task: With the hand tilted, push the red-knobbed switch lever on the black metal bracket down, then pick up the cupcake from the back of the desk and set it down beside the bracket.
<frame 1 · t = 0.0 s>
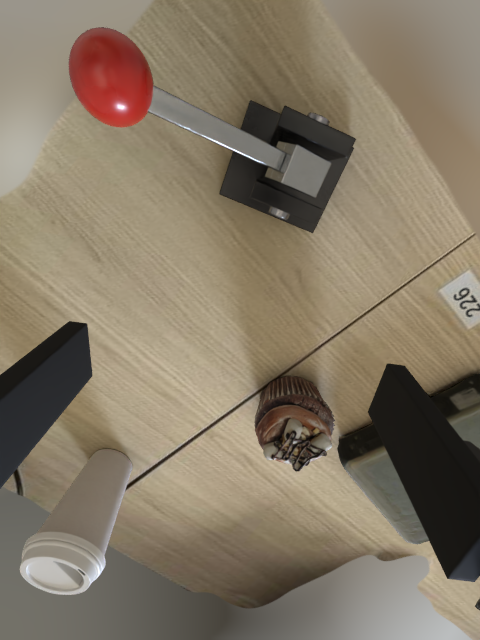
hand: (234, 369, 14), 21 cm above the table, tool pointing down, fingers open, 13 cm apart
network switch: (432, 450, 44), on the table
switch lever: (216, 131, 17), point 13 cm above the table, hinge at 25.0°
coffee cup: (112, 462, 48), on the table
cupcake: (289, 398, 41), on the table
switch bracket: (283, 171, 29), on the table
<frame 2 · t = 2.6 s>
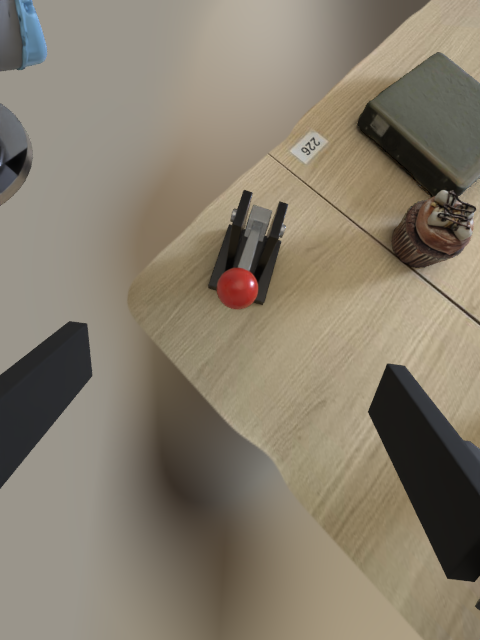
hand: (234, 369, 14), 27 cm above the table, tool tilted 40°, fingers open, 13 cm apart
network switch: (430, 139, 55), on the table
switch lever: (248, 253, 30), point 13 cm above the table, hinge at 25.0°
cupcake: (413, 245, 49), on the table
switch bracket: (245, 265, 44), on the table
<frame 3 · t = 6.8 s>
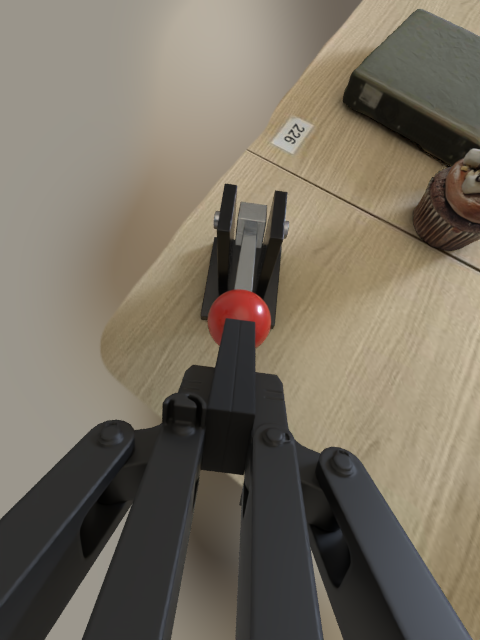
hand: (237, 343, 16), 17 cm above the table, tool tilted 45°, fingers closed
network switch: (429, 104, 48), on the table
switch lever: (246, 266, 21), point 13 cm above the table, hinge at 24.5°, touching gripper
cupcake: (440, 225, 40), on the table
switch bracket: (242, 283, 35), on the table
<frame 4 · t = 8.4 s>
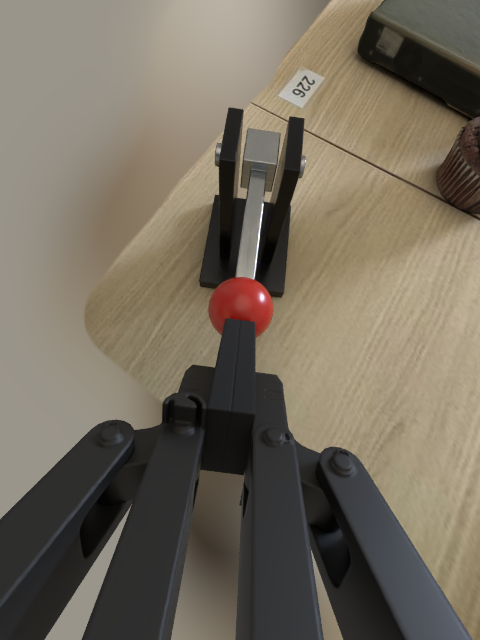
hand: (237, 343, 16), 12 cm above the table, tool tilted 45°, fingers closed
network switch: (452, 58, 43), on the table
switch lever: (250, 230, 19), point 11 cm above the table, hinge at 1.5°, touching gripper
cupcake: (467, 186, 36), on the table
switch bracket: (246, 247, 31), on the table
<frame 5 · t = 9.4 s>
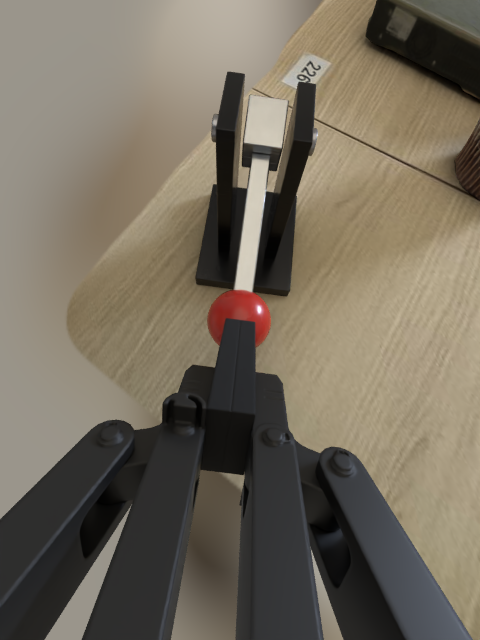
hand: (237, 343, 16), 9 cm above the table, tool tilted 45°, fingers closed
network switch: (466, 43, 40), on the table
switch lever: (251, 230, 18), point 9 cm above the table, hinge at -16.7°, touching gripper
switch bracket: (248, 241, 28), on the table
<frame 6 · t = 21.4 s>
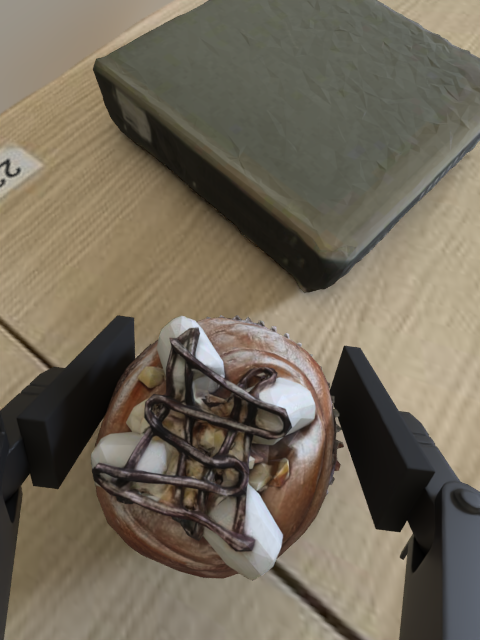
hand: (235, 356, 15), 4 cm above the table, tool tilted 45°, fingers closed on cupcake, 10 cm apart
network switch: (298, 139, 25), on the table
cupcake: (226, 424, 17), on the table, touching gripper
when the fingers open (4 cm above the table, at t = 31.1 s): cupcake stays where it is, on the table.
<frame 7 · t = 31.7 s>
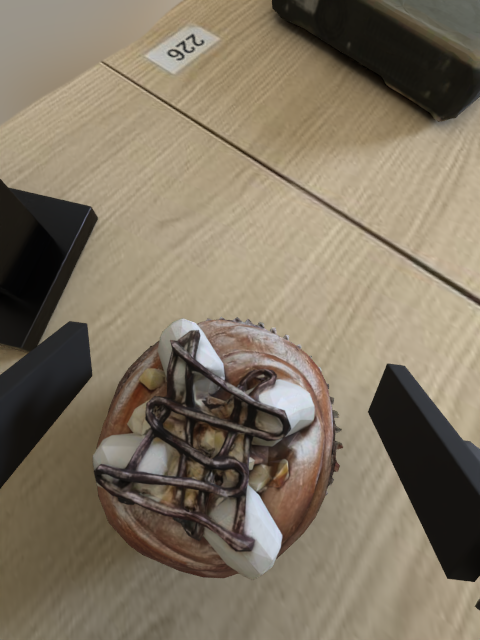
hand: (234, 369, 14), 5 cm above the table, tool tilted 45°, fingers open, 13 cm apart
network switch: (411, 28, 31), on the table
cupcake: (226, 425, 17), on the table
switch bracket: (9, 266, 20), on the table
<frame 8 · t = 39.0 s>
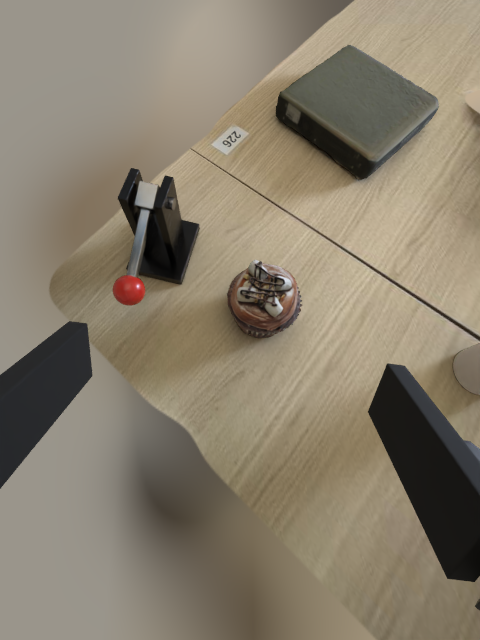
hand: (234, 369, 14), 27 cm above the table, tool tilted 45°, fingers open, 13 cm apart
network switch: (350, 123, 58), on the table
switch lever: (138, 246, 36), point 9 cm above the table, hinge at -21.2°
coffee cup: (474, 371, 43), on the table
cupcake: (260, 312, 44), on the table
switch bracket: (165, 249, 46), on the table
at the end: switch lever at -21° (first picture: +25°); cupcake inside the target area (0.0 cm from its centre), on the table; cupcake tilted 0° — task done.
